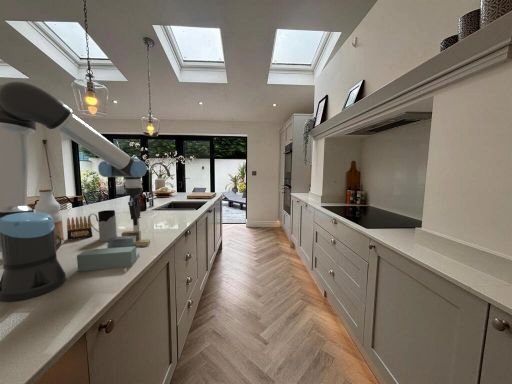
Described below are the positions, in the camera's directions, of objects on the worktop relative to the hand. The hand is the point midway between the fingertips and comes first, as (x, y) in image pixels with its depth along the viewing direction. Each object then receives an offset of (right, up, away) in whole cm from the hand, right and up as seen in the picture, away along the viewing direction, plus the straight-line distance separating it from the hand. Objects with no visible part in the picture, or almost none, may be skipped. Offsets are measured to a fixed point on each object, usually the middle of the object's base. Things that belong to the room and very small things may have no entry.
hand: (136, 230), depth 118 cm
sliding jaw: (+2, -5, -9) cm, 11 cm away
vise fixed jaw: (+7, -8, -31) cm, 33 cm away
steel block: (+4, -7, -19) cm, 21 cm away
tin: (-30, -7, -22) cm, 38 cm away
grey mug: (-19, -5, +1) cm, 19 cm away
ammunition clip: (-32, -5, +2) cm, 33 cm away
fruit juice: (-37, -6, -10) cm, 39 cm away
